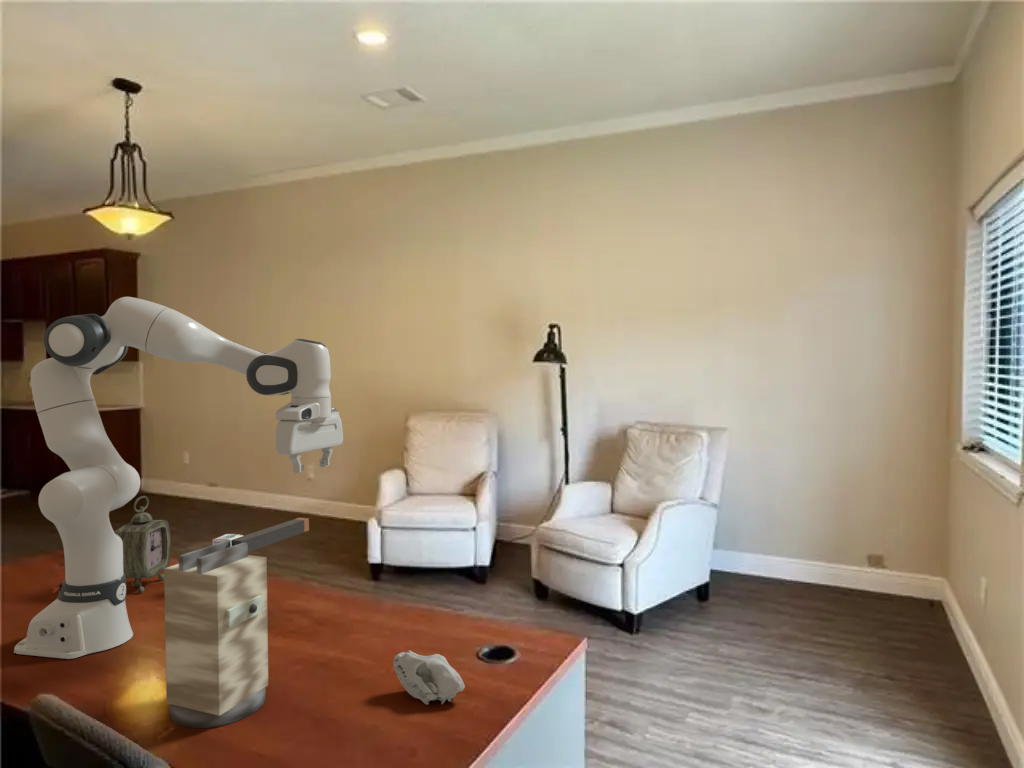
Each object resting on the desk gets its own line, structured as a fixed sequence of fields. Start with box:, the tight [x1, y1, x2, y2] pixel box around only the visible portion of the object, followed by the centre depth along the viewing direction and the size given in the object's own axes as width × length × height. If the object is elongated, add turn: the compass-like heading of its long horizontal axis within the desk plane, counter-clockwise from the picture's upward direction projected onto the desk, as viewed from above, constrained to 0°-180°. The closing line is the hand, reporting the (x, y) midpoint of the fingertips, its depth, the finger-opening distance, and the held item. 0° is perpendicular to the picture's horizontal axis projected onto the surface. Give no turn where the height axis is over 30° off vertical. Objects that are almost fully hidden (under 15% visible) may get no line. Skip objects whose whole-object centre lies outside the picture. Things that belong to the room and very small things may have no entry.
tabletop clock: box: [114, 495, 172, 594], centre depth 191 cm, size 14×9×25 cm, turn 179°
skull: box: [392, 650, 466, 706], centre depth 129 cm, size 9×10×13 cm
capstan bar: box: [231, 517, 310, 553], centre depth 138 cm, size 20×2×2 cm, turn 159°
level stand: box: [163, 540, 269, 729], centre depth 125 cm, size 16×16×29 cm
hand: (311, 469), depth 160 cm, fingers open, 8 cm apart
